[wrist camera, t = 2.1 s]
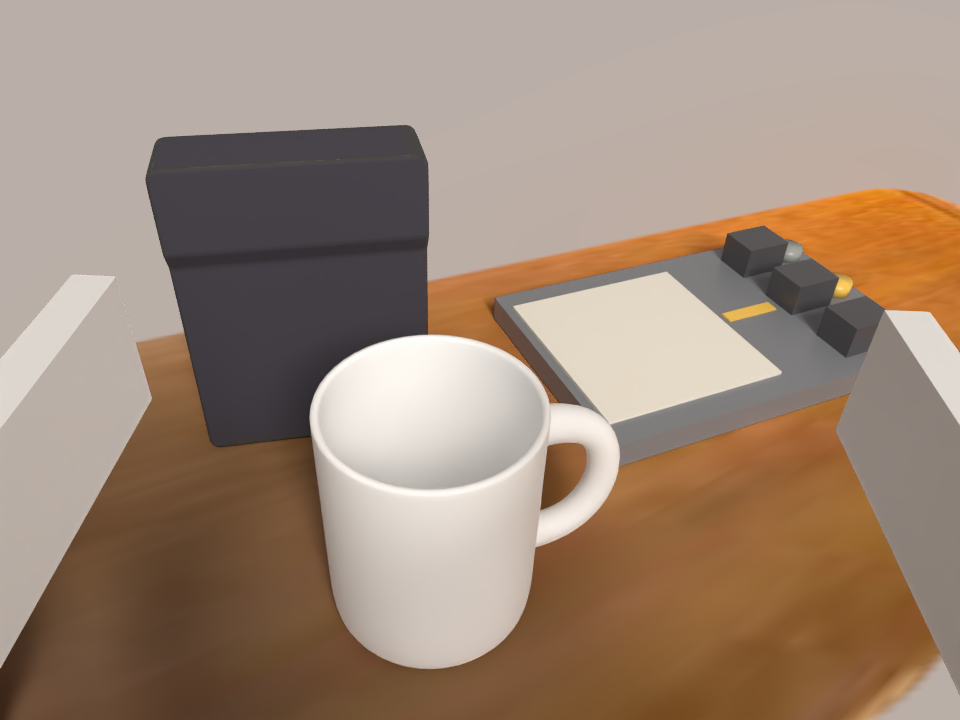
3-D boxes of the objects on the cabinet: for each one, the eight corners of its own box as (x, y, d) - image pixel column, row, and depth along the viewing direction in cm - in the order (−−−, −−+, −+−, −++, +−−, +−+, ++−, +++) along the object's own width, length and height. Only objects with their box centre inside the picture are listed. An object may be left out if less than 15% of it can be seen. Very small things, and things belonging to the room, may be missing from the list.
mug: (567, 481, 39) (593, 306, 32) (643, 625, 33) (693, 443, 26) (320, 533, 36) (295, 351, 29) (352, 702, 30) (329, 518, 23)
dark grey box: (418, 379, 45) (413, 117, 35) (431, 431, 41) (429, 155, 32) (214, 402, 42) (153, 129, 33) (210, 457, 39) (141, 171, 30)
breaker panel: (610, 469, 40) (621, 416, 37) (493, 317, 49) (496, 269, 47) (931, 367, 47) (954, 319, 45) (772, 254, 57) (786, 209, 55)
